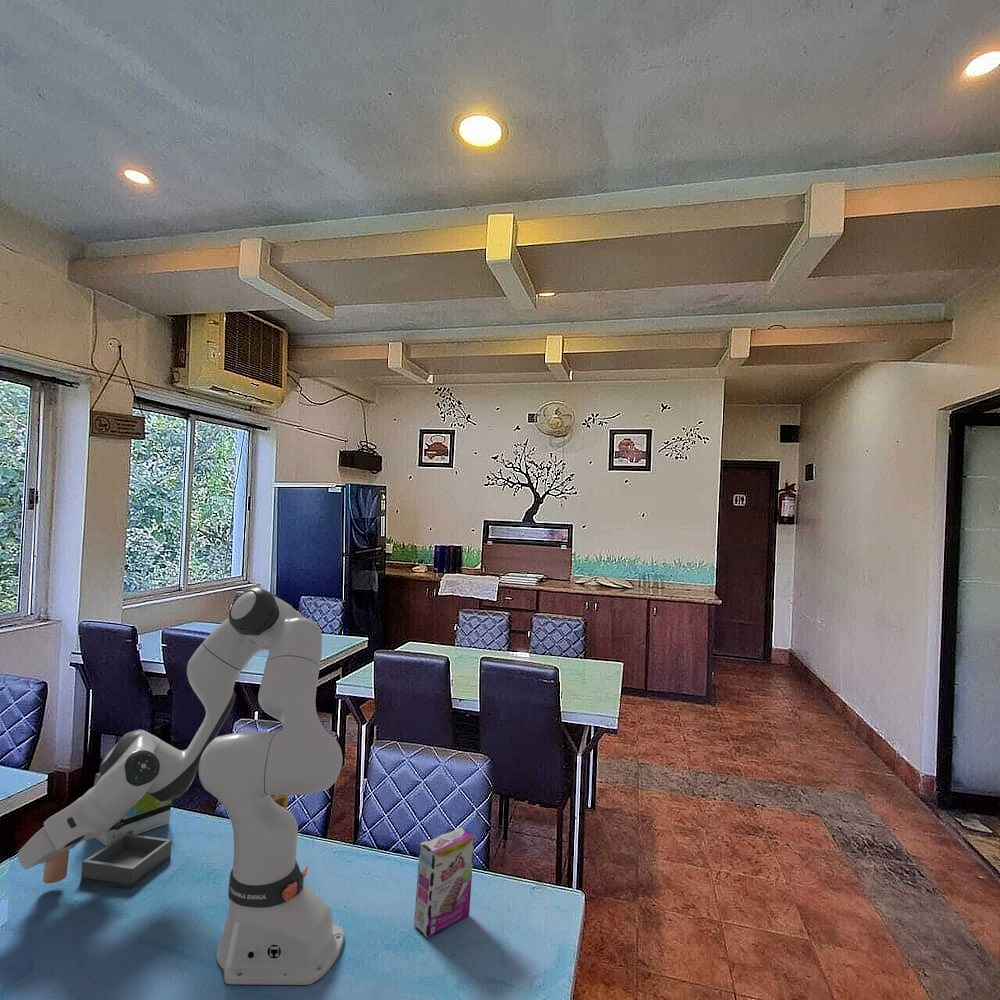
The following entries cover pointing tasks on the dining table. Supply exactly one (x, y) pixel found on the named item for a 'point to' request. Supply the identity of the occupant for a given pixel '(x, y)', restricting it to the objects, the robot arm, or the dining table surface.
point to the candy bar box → (444, 881)
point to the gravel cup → (56, 867)
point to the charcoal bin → (126, 860)
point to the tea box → (138, 818)
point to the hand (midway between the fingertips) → (55, 852)
